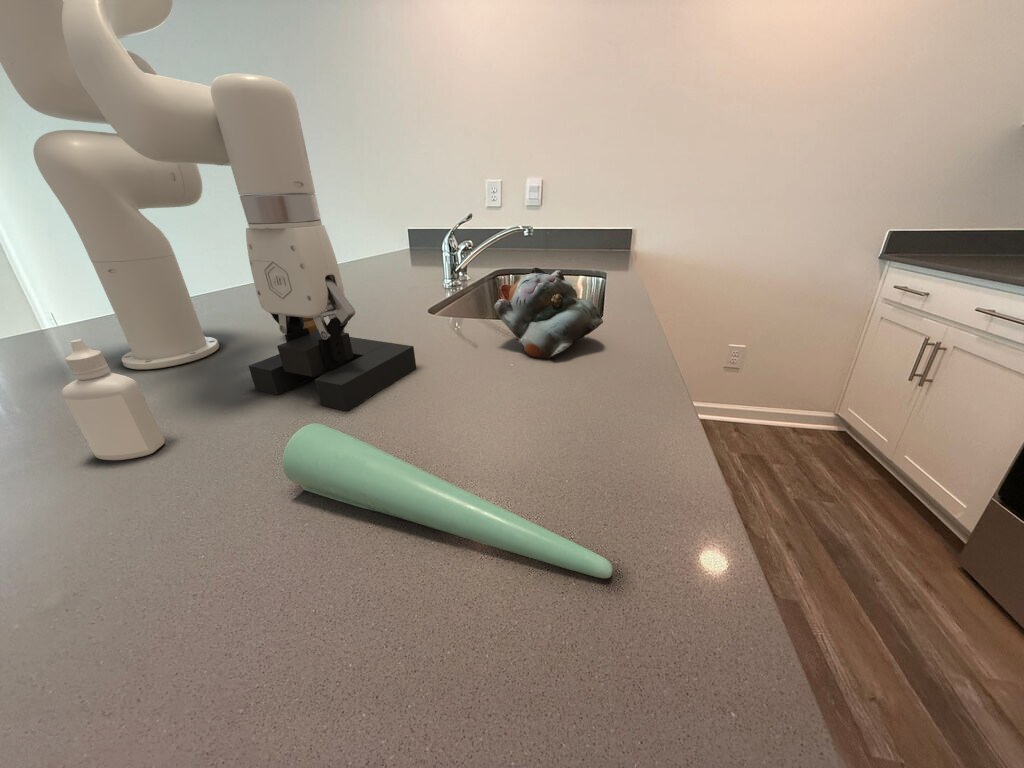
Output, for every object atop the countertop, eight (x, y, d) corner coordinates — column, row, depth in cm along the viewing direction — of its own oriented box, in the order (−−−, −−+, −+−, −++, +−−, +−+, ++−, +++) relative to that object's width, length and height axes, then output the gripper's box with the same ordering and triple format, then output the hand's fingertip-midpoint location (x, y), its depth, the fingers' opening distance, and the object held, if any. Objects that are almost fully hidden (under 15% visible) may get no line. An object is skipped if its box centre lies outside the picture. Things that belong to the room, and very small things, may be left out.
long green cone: (609, 548, 22) (274, 443, 32) (602, 614, 25) (291, 497, 35) (627, 489, 27) (327, 412, 37) (619, 549, 29) (339, 462, 39)
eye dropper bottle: (123, 469, 39) (61, 352, 34) (90, 457, 41) (26, 345, 36) (172, 445, 43) (123, 336, 37) (140, 435, 45) (88, 330, 39)
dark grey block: (284, 371, 52) (276, 345, 50) (326, 352, 57) (321, 329, 56) (312, 377, 50) (306, 350, 48) (354, 357, 56) (349, 332, 54)
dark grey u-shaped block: (255, 389, 54) (248, 365, 53) (335, 354, 66) (330, 333, 64) (347, 411, 49) (341, 385, 47) (416, 368, 60) (413, 345, 59)
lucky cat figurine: (537, 366, 59) (496, 278, 57) (513, 368, 71) (478, 295, 69) (618, 323, 63) (582, 239, 61) (583, 332, 75) (551, 261, 73)
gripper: (201, 215, 46) (249, 364, 53) (311, 214, 39) (348, 383, 47) (261, 211, 52) (297, 346, 60) (365, 210, 46) (390, 361, 53)
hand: (319, 361), depth 53 cm, fingers closed on dark grey block, 4 cm apart
